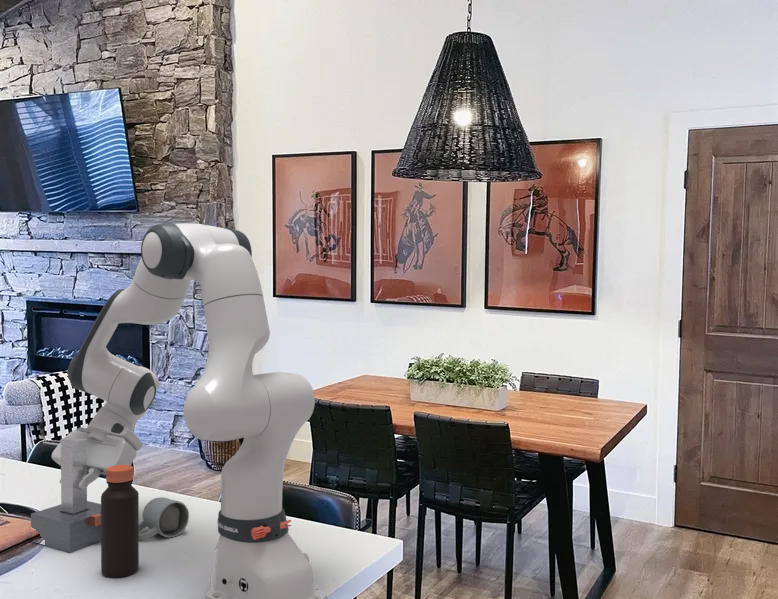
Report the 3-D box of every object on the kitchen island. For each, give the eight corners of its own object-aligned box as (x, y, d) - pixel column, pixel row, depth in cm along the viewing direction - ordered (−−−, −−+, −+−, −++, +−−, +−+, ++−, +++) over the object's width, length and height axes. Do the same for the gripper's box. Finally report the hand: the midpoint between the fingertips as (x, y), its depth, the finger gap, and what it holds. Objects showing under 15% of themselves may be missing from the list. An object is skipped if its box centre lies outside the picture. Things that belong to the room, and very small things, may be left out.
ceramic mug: (169, 523, 175) (169, 490, 174) (190, 532, 169) (189, 498, 169) (126, 536, 167) (125, 501, 167) (145, 546, 162) (145, 510, 161)
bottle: (122, 561, 153) (122, 461, 152) (146, 569, 149) (146, 466, 148) (93, 573, 147) (92, 469, 146) (117, 581, 143) (117, 474, 142)
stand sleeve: (121, 536, 167) (121, 508, 166) (75, 554, 156) (74, 524, 156) (78, 525, 173) (78, 497, 173) (31, 541, 163) (30, 512, 162)
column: (89, 538, 165) (89, 438, 164) (75, 543, 162) (74, 442, 161) (73, 533, 168) (72, 435, 167) (58, 538, 165) (58, 439, 164)
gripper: (68, 418, 175) (30, 471, 167) (133, 429, 165) (96, 485, 157) (84, 434, 179) (48, 486, 171) (148, 445, 169) (113, 501, 161)
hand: (71, 486), depth 164 cm, fingers closed on column, 4 cm apart
